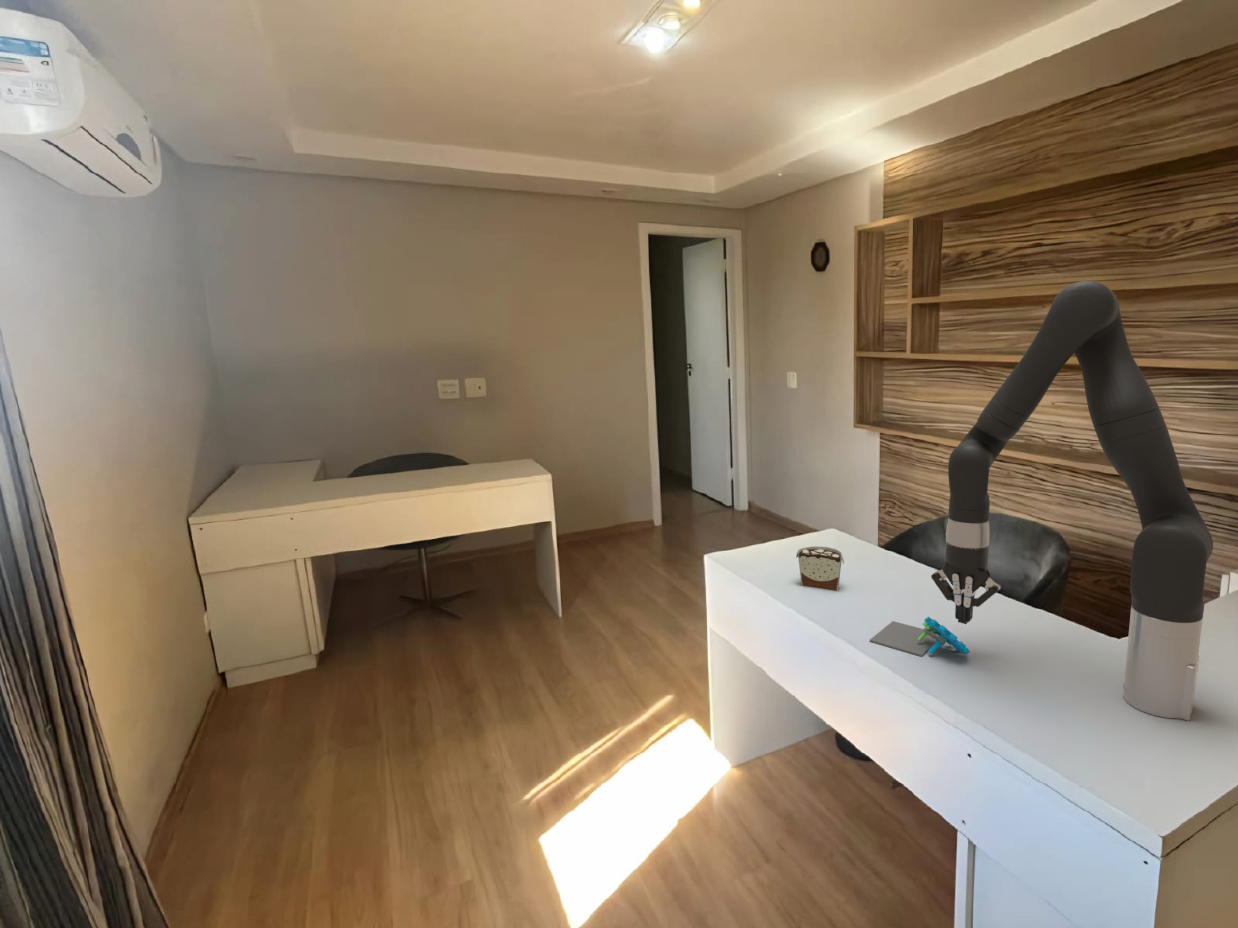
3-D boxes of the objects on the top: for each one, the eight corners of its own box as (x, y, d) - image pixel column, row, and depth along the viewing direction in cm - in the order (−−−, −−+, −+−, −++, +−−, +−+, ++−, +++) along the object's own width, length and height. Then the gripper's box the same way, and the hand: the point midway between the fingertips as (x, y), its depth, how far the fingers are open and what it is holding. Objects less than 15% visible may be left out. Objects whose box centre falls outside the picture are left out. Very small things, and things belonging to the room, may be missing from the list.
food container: (849, 584, 172) (849, 548, 170) (843, 592, 166) (843, 556, 165) (803, 578, 178) (802, 543, 176) (796, 585, 173) (795, 550, 171)
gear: (980, 657, 129) (953, 627, 126) (960, 678, 129) (932, 648, 126) (943, 633, 139) (917, 605, 137) (924, 653, 139) (897, 625, 137)
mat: (943, 635, 140) (943, 634, 140) (921, 656, 132) (921, 655, 132) (892, 622, 148) (892, 620, 148) (869, 641, 140) (869, 639, 140)
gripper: (1010, 541, 125) (1005, 624, 129) (939, 530, 135) (936, 607, 138) (998, 552, 120) (993, 637, 124) (925, 539, 130) (922, 619, 133)
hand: (963, 621), depth 131 cm, fingers closed
